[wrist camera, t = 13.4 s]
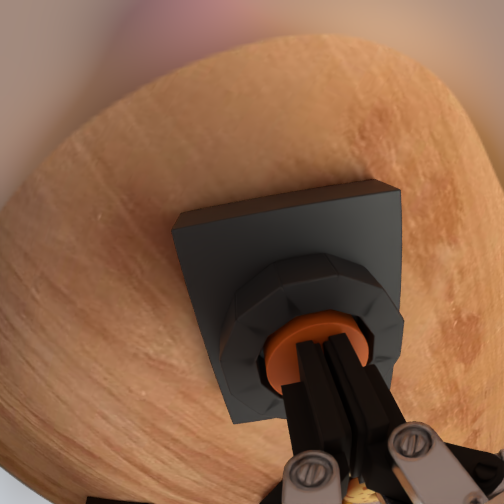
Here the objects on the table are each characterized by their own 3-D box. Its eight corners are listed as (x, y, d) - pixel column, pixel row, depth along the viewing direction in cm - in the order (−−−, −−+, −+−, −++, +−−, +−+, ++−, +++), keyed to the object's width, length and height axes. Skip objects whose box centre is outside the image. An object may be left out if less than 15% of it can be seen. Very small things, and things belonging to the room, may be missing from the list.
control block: (180, 212, 12) (159, 250, 9) (375, 178, 12) (428, 201, 8) (232, 393, 16) (233, 453, 12) (375, 363, 16) (403, 414, 12)
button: (254, 306, 11) (258, 335, 10) (352, 286, 11) (370, 311, 9) (269, 378, 12) (274, 409, 11) (353, 359, 12) (366, 388, 11)
